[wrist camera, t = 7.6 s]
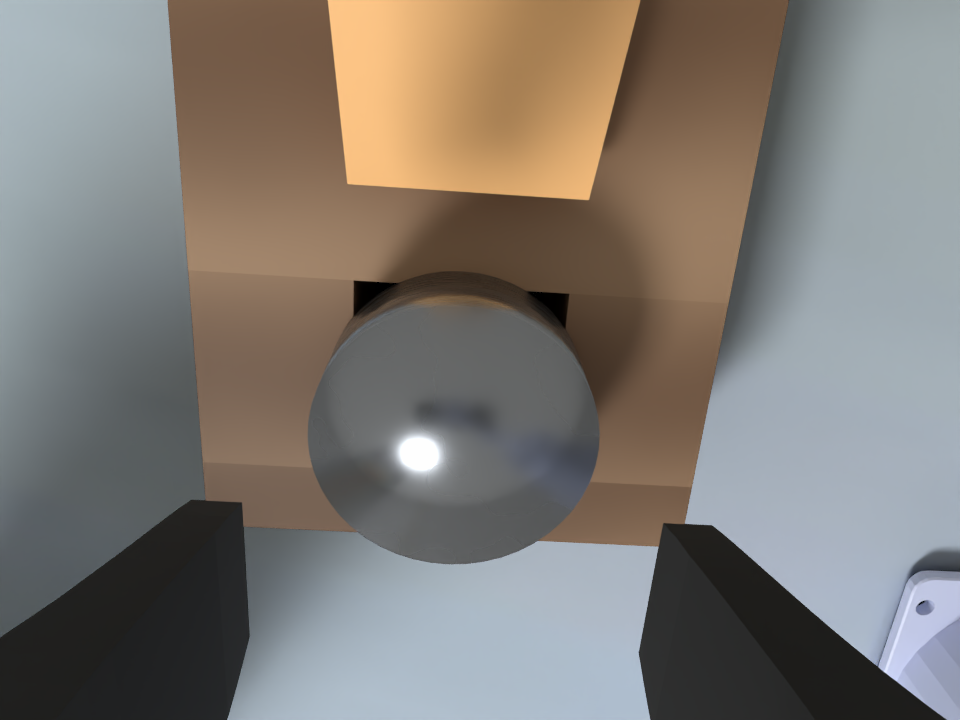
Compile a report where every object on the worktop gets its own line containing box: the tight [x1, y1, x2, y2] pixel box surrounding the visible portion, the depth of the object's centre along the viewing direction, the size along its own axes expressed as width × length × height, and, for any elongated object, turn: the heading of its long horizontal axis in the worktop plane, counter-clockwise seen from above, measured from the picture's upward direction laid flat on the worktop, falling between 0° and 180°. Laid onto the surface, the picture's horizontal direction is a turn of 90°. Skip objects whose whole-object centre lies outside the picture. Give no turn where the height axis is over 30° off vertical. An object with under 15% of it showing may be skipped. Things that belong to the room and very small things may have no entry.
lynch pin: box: [308, 271, 600, 564], centre depth 16 cm, size 5×5×6 cm
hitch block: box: [168, 0, 789, 547], centre depth 16 cm, size 13×10×4 cm
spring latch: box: [328, 0, 640, 200], centre depth 11 cm, size 5×4×1 cm
